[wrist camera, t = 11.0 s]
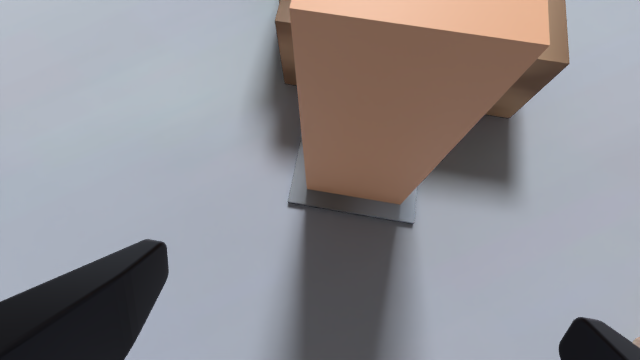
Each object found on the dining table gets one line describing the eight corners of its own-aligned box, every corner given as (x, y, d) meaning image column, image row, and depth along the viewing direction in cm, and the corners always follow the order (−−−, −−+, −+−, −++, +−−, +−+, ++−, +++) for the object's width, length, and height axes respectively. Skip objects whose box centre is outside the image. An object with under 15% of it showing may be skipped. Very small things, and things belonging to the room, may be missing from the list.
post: (400, 204, 16) (550, 44, 6) (306, 188, 16) (289, 8, 6) (408, 120, 18) (541, -130, 7) (322, 107, 18) (330, -155, 7)
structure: (509, -17, 21) (619, -194, 13) (509, 240, 16) (684, 191, 8) (295, -46, 21) (283, -232, 14) (232, 192, 17) (160, 108, 9)
